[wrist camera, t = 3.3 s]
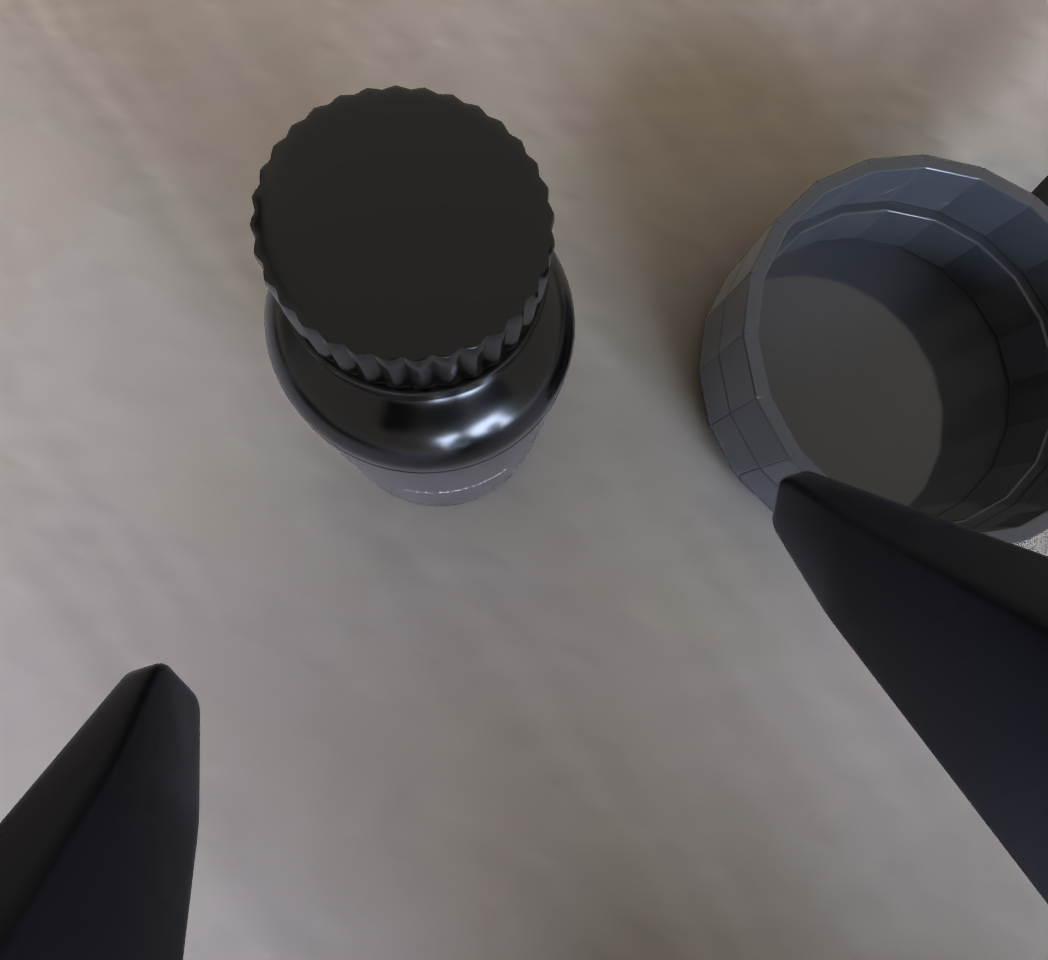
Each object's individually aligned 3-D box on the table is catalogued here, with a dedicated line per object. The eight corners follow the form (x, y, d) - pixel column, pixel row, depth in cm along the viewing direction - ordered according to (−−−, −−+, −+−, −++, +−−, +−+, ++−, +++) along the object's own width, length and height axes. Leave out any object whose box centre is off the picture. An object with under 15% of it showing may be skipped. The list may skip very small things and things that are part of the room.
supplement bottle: (447, 549, 20) (403, 530, 8) (306, 419, 20) (64, 217, 8) (575, 410, 21) (700, 216, 9) (440, 289, 21) (392, -51, 9)
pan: (875, 625, 21) (973, 641, 17) (624, 374, 21) (659, 330, 17) (1074, 391, 23) (1206, 353, 19) (840, 168, 23) (918, 84, 19)
